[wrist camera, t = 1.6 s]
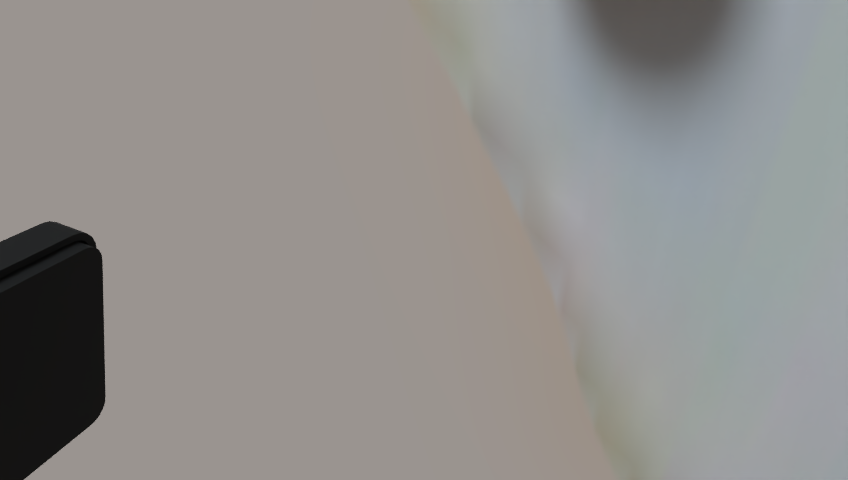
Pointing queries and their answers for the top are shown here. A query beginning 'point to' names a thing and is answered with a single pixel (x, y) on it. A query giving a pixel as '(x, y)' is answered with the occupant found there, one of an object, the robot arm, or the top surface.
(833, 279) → the top surface
